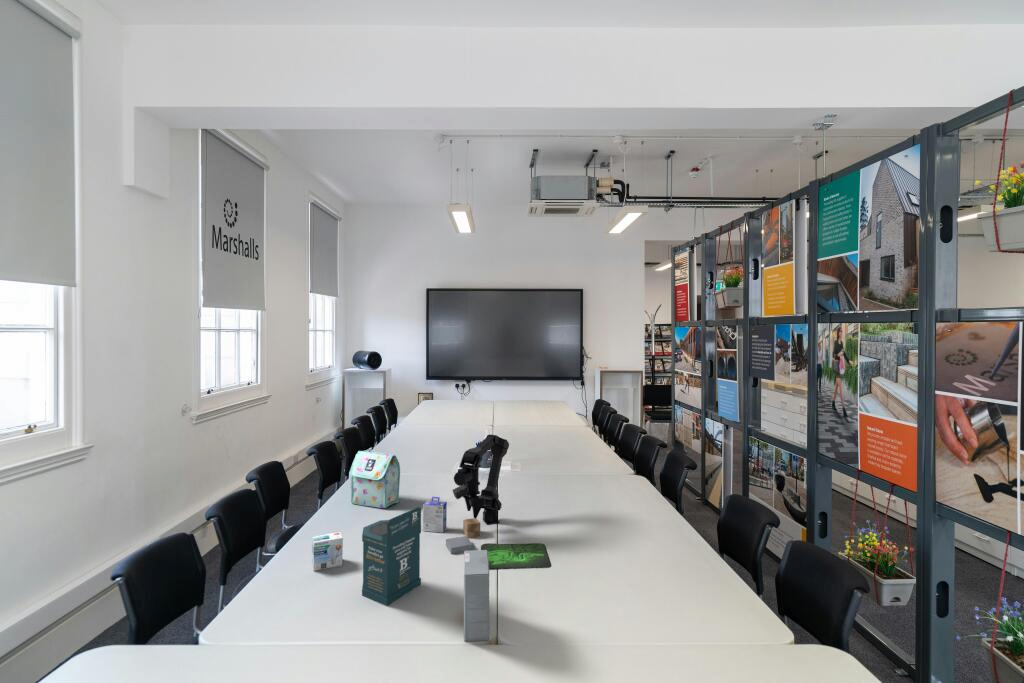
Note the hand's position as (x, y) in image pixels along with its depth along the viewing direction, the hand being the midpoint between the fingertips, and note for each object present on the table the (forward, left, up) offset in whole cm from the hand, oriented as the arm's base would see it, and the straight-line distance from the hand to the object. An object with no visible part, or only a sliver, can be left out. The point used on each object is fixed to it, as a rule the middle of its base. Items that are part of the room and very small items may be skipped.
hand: (471, 514), depth 216 cm
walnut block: (0, 0, -9) cm, 9 cm away
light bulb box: (+60, +7, -9) cm, 61 cm away
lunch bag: (+35, -56, -9) cm, 67 cm away
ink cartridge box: (+14, -11, -9) cm, 20 cm away
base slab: (+9, +11, -9) cm, 17 cm away
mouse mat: (-10, +26, -9) cm, 29 cm away
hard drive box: (+19, +65, -9) cm, 68 cm away
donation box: (+41, +33, -9) cm, 54 cm away
